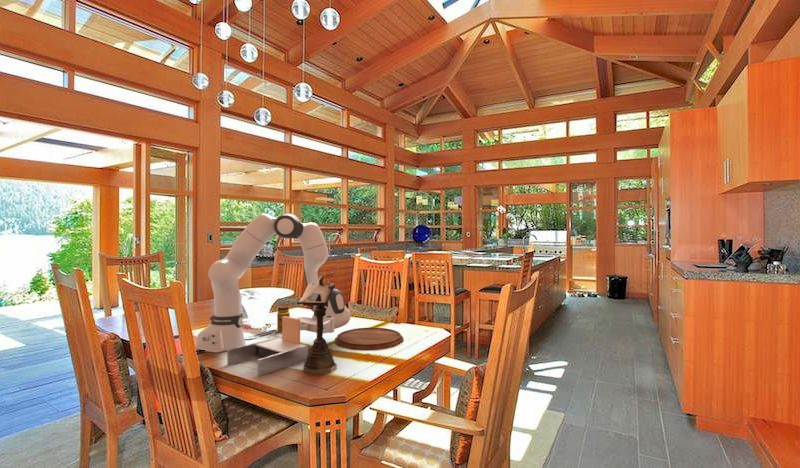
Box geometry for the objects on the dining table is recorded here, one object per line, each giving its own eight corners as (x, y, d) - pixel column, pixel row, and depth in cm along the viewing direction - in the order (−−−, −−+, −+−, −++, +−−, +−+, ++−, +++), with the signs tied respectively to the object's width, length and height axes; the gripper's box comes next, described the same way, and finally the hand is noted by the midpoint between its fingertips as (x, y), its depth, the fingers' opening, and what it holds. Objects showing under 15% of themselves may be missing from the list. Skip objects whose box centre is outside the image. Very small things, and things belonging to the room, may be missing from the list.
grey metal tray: (276, 350, 171) (275, 337, 171) (308, 359, 159) (307, 345, 159) (227, 364, 154) (227, 349, 154) (259, 376, 141) (258, 360, 141)
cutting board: (397, 352, 169) (397, 346, 169) (324, 349, 174) (324, 343, 174) (407, 333, 201) (407, 328, 201) (346, 330, 206) (346, 326, 206)
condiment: (285, 332, 201) (285, 308, 201) (270, 331, 204) (270, 307, 204) (293, 329, 208) (293, 306, 208) (279, 327, 211) (279, 305, 211)
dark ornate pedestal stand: (326, 381, 136) (325, 278, 136) (291, 377, 140) (291, 277, 139) (344, 365, 152) (344, 273, 152) (313, 362, 156) (312, 272, 155)
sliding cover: (278, 339, 171) (278, 314, 171) (306, 347, 160) (306, 320, 160) (255, 345, 162) (255, 319, 162) (283, 353, 151) (283, 325, 151)
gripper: (305, 312, 184) (280, 317, 173) (336, 318, 172) (311, 324, 161) (305, 326, 184) (280, 332, 173) (336, 332, 172) (311, 340, 161)
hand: (295, 328), depth 167 cm, fingers closed
